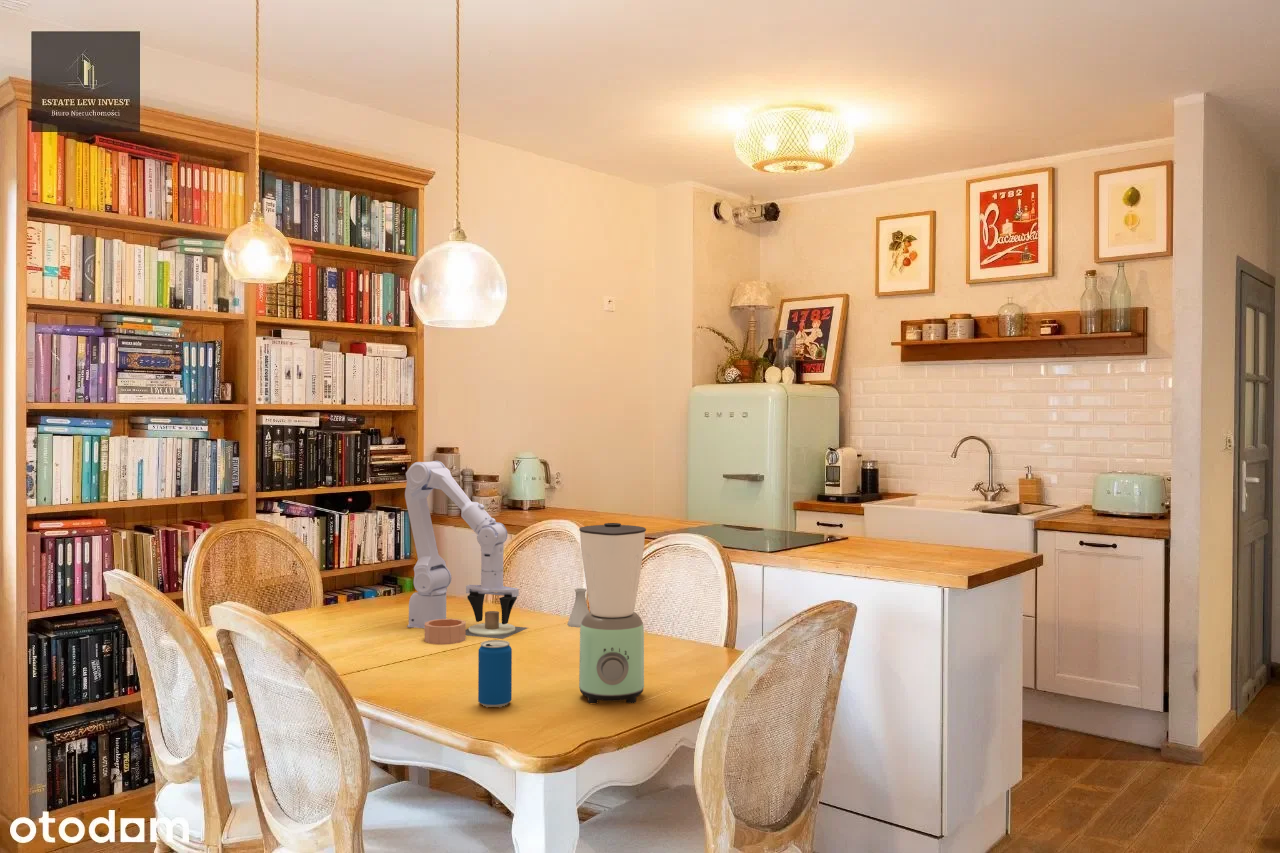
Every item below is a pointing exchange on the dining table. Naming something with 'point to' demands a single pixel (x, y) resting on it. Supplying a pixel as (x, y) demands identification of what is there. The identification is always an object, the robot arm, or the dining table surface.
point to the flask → (578, 608)
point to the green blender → (612, 613)
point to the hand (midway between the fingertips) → (492, 622)
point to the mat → (517, 629)
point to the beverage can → (494, 673)
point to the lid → (491, 626)
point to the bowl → (445, 631)
